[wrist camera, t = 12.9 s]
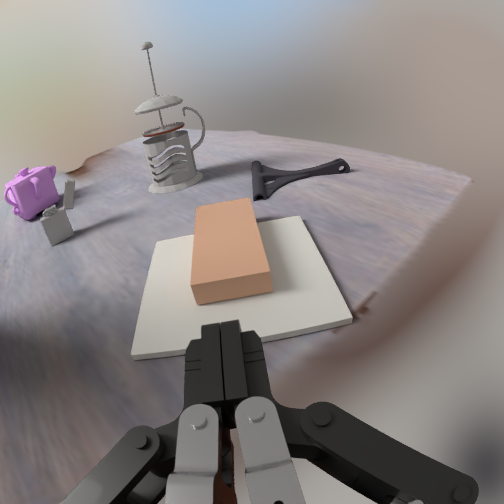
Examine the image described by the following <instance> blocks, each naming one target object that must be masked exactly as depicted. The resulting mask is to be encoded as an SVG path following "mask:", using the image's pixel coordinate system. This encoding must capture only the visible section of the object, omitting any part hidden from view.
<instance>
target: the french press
mask: <svg viewBox="0 0 504 504" xmlns="http://www.w3.org/2000/svg"><path fill="white" fill-rule="evenodd" d="M152 47H153V45H152V43H151V42H145V43H143V44H142V45H141V50H145V49H147V53H148V59H149V65H150V70H151V75H152V80H153V85H154V90H155V95H156V96H154V97H153V98H152V99H149V100H148V101H145V102H144V103H143V104H141V105H140V106H139V107H138V108H137V109H136V111H134V112H135V114H136V115H139V114H144V113H148V112H152V111H156V110H159V115H160V119H161V124H162V126H161V127H160V126H159V127H157V128H155V129H154V128H153V129H150V130H148V131H147V132H146V131H145V132H144V133H143V134H142V135H143V136H144V137H153V136H155V137H153V138H150V139H148V140H146V141H144V142H143V146H144V150H145V154H146V158H147V162H148V166H149V169H150V173H151V177H152V181H153V182H152V184H151V185H150V187H149V191H150V192H152V193H155V194H157V193H169V192H174V191H178V190H181V189H184V188H187V187H190V186H192V185H194V184H196V183H197V182H199V181H200V180H201V179H202V178H203V174H202V173H201V172H199V171H197V169H196V165H195V160H194V155H193V151H194V150H195V149H196V148H197V147H198V146H200V144H201V143H202V141H203V139H204V136H205V125H204V121H203V119H202V117H201V116H200V115H199V113H198V112H197V111H196V110H194V109H192V108H189V107H184V108H183V109H182V110H183V115H184V116H185V111H184V110H185V109H188V110H192V111H193V112H195V113H196V114H197V115H198V116H199V117H200V119H201V121H202V126H203V131H202V136H201V139H200V140H199V142H198V143H197V144H195V145H194V146H193V147H192V149H191V146H190V142H189V137H188V132H187V131H185V130H181V131H176V130H178V129H180V128H182V127H183V126H184V123H183V122H176V123H173V124H170V125H166V126H164V125H163V123H162V118H161V113H160V109H164V108H168V107H171V106H175V105H177V104H180V103H182V101H183V100H182V99H181V98H178V97H176V96H160V95H157V94H156V89H155V84H154V79H153V74H152V69H151V63H150V57H149V52H148V49H149V48H152ZM173 131H174V132H173ZM172 137H177V138H174V139H171V140H168V139H170V138H172ZM166 140H167V141H166ZM200 141H201V142H200ZM198 144H199V145H198ZM172 145H183V146H184V148H185V149H184V148H178V147H175V148H172V149H170V150H168V151H167V152H166V153H165V154H164V155H163V156H161V157H160V158H159V159H157V160H155V161H152V158H154V157H156V156H158V155H159V154H161V153H162V152H163V151H164V150H165V149H166V148H168V147H170V146H172ZM195 146H196V147H195ZM194 147H195V148H194ZM180 152H182V153H186V155H183V154H175V155H173V156H170V155H172V154H174V153H180ZM168 156H170V157H169V158H168V159H167V160H166V161H165V162H164V163H162V164H161V165H160V166H158V167H155V168H154V166H153V165H156V164H158V163H160V162H161V161H163V160H164V159H165V158H166V157H168ZM180 160H187V161H188V162H186V161H180ZM169 164H170V165H169ZM168 165H169V166H168ZM166 166H168V167H167V168H166V169H165V170H163V171H162V172H160V173H159V174H155V173H156V172H159V171H161V170H162V169H164V168H165V167H166Z"/></svg>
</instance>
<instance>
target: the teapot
mask: <svg viewBox="0 0 504 504" xmlns="http://www.w3.org/2000/svg"><path fill="white" fill-rule="evenodd" d="M19 174H20V175H19ZM19 174H16V175H14V177H15V179H13V180H12V181H10V182H8V183H7V184H6V185H5V186H6V190H5V192H4V199H5V201H6V202H7V203H9V204H10V205H12V206H13V207H14V208H13V213H14V214H15V215H18V216H20V217H22V218H24V219H26V220H31V219H33V218H35V217H36V216H37V215H36V214H38V213H40V212H41V211H43V210H44V209H47V208H49V207H51V206H53V205H54V203H56V202H57V201H59V200H60V198H59V195H58V193H57V190H56V187H55V184H54V181H53V179H54V177H55V174H56V167H55V166H46V167H35V168H33V169H31V170H30V171H28V167H26V168H24V169H22V170H20V171H19ZM7 193H8V194H9V197H10V199H11V200H9V199H8V197H7Z"/></svg>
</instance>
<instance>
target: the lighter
mask: <svg viewBox="0 0 504 504" xmlns="http://www.w3.org/2000/svg"><path fill="white" fill-rule="evenodd" d="M74 188H75V180H74V179H66V180H65V190H64V202H63V207H61V208H59V209H56V206H55V205H53V206H51V207H49V208H47V209H45V211H44V212H43V216H44V217H42V218H40V221H41V224H42V226H43V228H44V231H45V233H46V235H47V237H48V240H49V242H50V244H51V246H54V245H56V244H57V243H59V242H61V241H63V240H65V239H67V238H69V237H71V236H73V235H74V232H73V229H72V227H71V224H70V222H69V219H68V217H67V214H66V212H65V209H73V199H74Z"/></svg>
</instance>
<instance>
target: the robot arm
mask: <svg viewBox="0 0 504 504" xmlns="http://www.w3.org/2000/svg"><path fill="white" fill-rule="evenodd" d="M236 426H237V430H238V435H239V440H240V445H241V450H242V454H243V459H244V463H245V477H246V482H247V487H248V491H249V495H250V500H251V504H306V503H305V500H304V497H303V493H302V490H301V487H300V484H299V480H298V477H297V474H296V471H295V467H294V464H293V462H292V460H291V457H293V458H303V459H307V460H308V461H310V462H311V463H313V464H314V465H316V466H317V467H319V468H320V469H322V470H323V471H325V472H326V473H328V474H329V475H331V476H333V477H334V478H336V479H337V480H339V481H340V482H342V483H344V484H345V485H347V486H348V487H350V488H352V489H353V490H355V491H357V492H358V493H360V494H362V495H364V496H365V497H367V498H369V499H371V500H372V501H374V502H376V503H378V504H474V503H475V502H476V500H477V497H478V485H477V483H476V481H475V480H474V479H473V478H472V477H470V476H468V475H466V474H463V473H461V472H459V471H457V470H455V469H453V468H450V467H448V466H446V465H444V464H442V463H440V462H438V461H436V460H434V459H431V458H430V457H428V456H426V455H424V454H422V453H420V452H418V451H416V450H414V449H412V448H410V447H408V446H406V445H404V444H402V443H400V442H399V441H397V440H395V439H393V438H391V437H389V436H388V435H386V434H384V433H382V432H380V431H378V430H377V429H375V428H373V427H371V426H370V425H368V424H366V423H364V422H363V421H361V420H359V419H357V418H355V417H354V416H352V415H351V414H349V413H347V412H345V411H344V410H342V409H340V408H339V407H337V406H335V405H334V404H332V403H328V402H317V403H313V404H311V405H310V406H308V407H307V408H306V409H295V408H288V407H284V406H282V405H280V404H279V403H277V402H276V401H275V399H274V398H273V396H272V394H271V390H270V384H269V379H268V374H267V368H266V363H265V358H264V352H263V347H262V341H261V338H260V337H259V336H258V334H257V333H256V332H255V331H254V330H251V331H245V332H242V330H241V326H240V322H239V319H237V320H231V321H225V322H221V324H220V322H219V323H212V324H206V325H202V326H201V338H200V339H193V340H191V341H190V343H189V345H188V347H187V349H186V351H185V383H184V408H183V411H182V413H181V414H180V416H179V417H178V418H177V419H176V420H175V421H173V422H171V423H169V424H167V425H164V426H161V427H159V428H156V429H152V428H151V427H148V426H137V427H134V428H132V429H131V430H130V431H128V432H127V434H126V435H125V436H124V437H123V438H122V439H121V440H120V441H119V442H118V443H117V444H116V445H115V446H114V448H113V449H112V450H111V451H110V452H109V453H108V454H107V455H106V456H105V457H104V458H103V459H102V460H101V461H100V462H99V464H98V465H97V466H96V467H95V468H94V469H93V470H92V471H91V472H90V473H89V474H88V475H87V476H86V477H85V478H84V479H83V480H82V481H81V482H80V483H79V485H78V486H77V487H76V488H75V489H74V490H73V491H72V492H71V493H70V494H69V495H68V496H67V497H66V498H65V499H64V500H63V501H62V502H61V503H60V504H157V503H158V502H159V501H160V500H161V499H162V498H163V497H164V495H165V494H166V499H165V504H237V497H236V493H235V487H234V446H233V442H232V441H231V437H230V429H234V428H236Z"/></svg>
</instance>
